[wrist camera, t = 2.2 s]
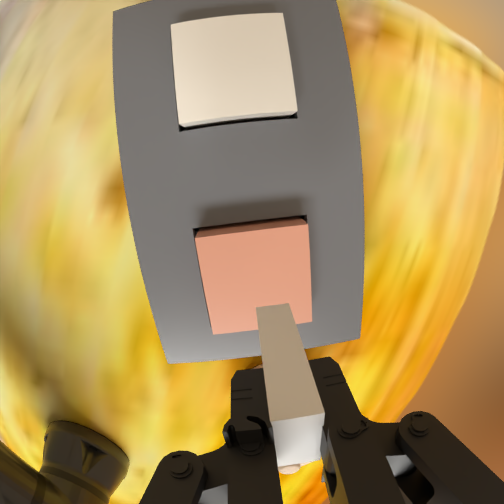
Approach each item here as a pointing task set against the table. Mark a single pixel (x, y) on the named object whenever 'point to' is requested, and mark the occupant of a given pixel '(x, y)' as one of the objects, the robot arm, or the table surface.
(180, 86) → the ivory key
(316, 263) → the key box
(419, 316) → the table surface
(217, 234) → the terracotta key
